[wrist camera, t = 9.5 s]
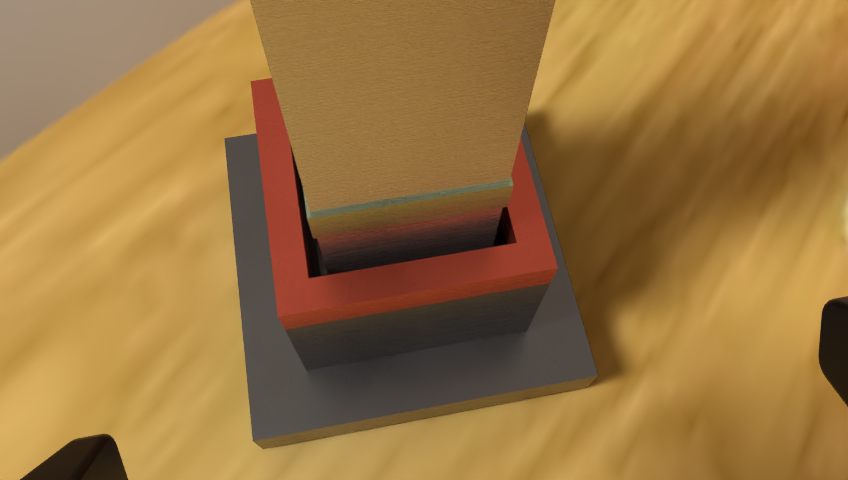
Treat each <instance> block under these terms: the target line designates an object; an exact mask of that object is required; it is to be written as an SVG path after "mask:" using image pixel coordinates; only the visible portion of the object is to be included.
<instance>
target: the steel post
mask: <svg viewBox="0 0 848 480" xmlns="http://www.w3.org/2000/svg"><path fill="white" fill-rule="evenodd" d="M250 2H251V5H252V9H253V13H254V16H255V20H256V23H257V27H258V30H259V34H260V37H261V41H262V44H263V48H264V51H265V55H266V59H267V62H268V66H269V69H270V73H271V76H272V80H273V83H274V87H275V90H276V94H277V98H278V101H279V105H280V108H281V112H282V115H283V119H284V122H285V126H286V129H287V133H288V137H289V140H290V144H291V147H292V151H293V154H294V158H295V161H296V165H297V168H298V172H299V175H300V179H301V183H302V186H303V192H304V200H305V207H306V214H307V220H308V223H309V227H310V230H311V233H312V237H313V239H315V238H317V239H318V243H319V246H320V250H321V253H322V257H323V261H324V264H325V268H326V271H327V275H331V274H337V273H343V272H349V271H355V270H361V269H367V268H373V267H378V266H384V265H390V264H396V263H402V262H408V261H414V260H420V259H426V258H431V257H437V256H443V255H449V254H455V253H461V252H467V251H473V250H479V249H484V248H490V247H493V244H494V240H495V236H496V232H497V228H498V224H499V220H500V216H501V212H502V209H503V207H508V205H509V201H510V197H511V193H512V190H513V186H514V185H513V181H512V177H511V173H512V169H513V165H514V161H515V157H516V154H517V150H518V146H519V142H520V138H521V134H522V130H523V126H524V122H525V118H526V114H527V110H528V106H529V102H530V99H531V95H532V91H533V87H534V83H535V79H536V75H537V71H538V67H539V63H540V59H541V55H542V51H543V47H544V44H545V40H546V36H547V32H548V28H549V24H550V20H551V16H552V12H553V8H554V4H555V0H250Z"/></svg>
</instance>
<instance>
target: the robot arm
mask: <svg viewBox="0 0 848 480" xmlns="http://www.w3.org/2000/svg"><path fill="white" fill-rule="evenodd" d="M819 364H820V367H821V370H822V372H823V374H824V375H825V377H826V378H827V380H828V381H829V382H830V384H831V385H832V386H833V388H834V389H835V390H836V392H837V393H838V394H839V396H840V397H841V398H842V400H843V401H844V402H845V404H846V405H847V406H848V296H847V297H841V298H836V299H832V300H829V301H828V302H827V303H826V304H825V306H824V308H823V311H822V319H821V331H820V343H819ZM20 480H128V478H127V475H126V472H125V469H124V466H123V463H122V459H121V456H120V453H119V450H118V447H117V445H116V442H115V441H114V439H113V438H112V437H111V436H110V435H108V434H99V435H94V436H88V437H83V438H78V439H75V440H72V441H71V442H69V443H68V444H67V445H65V446H64V447H63V448H61V449H60V450H59V451H57V452H56V453H55V454H53V455H52V456H51V457H49V458H48V459H47V460H45V461H44V462H43V463H41V464H40V465H39V466H37V467H36V468H35V469H33V470H32V471H31V472H30V473H28V474H27V475H26V476H24V477H23V478H22V479H20Z"/></svg>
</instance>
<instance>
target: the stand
mask: <svg viewBox="0 0 848 480" xmlns="http://www.w3.org/2000/svg"><path fill="white" fill-rule="evenodd" d="M251 88H252V96H253V105H254V114H255V122H256V131H257V134H250V135H244V136H237V137H230V138H225V148H226V159H227V170H228V180H229V191H230V202H231V212H232V223H233V233H234V244H235V255H236V265H237V276H238V287H239V297H240V308H241V319H242V329H243V340H244V351H245V361H246V372H247V382H248V393H249V404H250V414H251V425H252V436H253V441H254V442H255V443H256V444H257V445H258V446H260V447H261V448H262V449H266V448H271V447H277V446H282V445H287V444H292V443H298V442H303V441H308V440H313V439H319V438H324V437H329V436H335V435H340V434H345V433H350V432H356V431H361V430H366V429H371V428H377V427H382V426H387V425H392V424H398V423H403V422H408V421H413V420H419V419H424V418H429V417H434V416H440V415H445V414H450V413H455V412H461V411H466V410H471V409H476V408H482V407H487V406H492V405H498V404H503V403H508V402H513V401H519V400H524V399H529V398H534V397H540V396H545V395H550V394H555V393H561V392H566V391H571V390H576V389H582V388H587V387H588V386H589V385H590V384H591V383H592V382H593V381H594V380H595V379H596V378H597V377H598V374H597V370H596V367H595V363H594V360H593V356H592V353H591V350H590V346H589V343H588V339H587V336H586V332H585V329H584V325H583V322H582V319H581V315H580V312H579V308H578V305H577V301H576V298H575V294H574V291H573V288H572V284H571V281H570V277H569V274H568V270H567V267H566V264H565V260H564V257H563V253H562V250H561V246H560V243H559V239H558V236H557V233H556V229H555V226H554V222H553V219H552V215H551V212H550V208H549V205H548V202H547V198H546V195H545V191H544V188H543V184H542V181H541V177H540V174H539V171H538V167H537V164H536V160H535V157H534V153H533V150H532V147H531V143H530V140H529V136H528V133H527V129H526V126H525V122H524V126H523V130H522V134H521V138H520V142H519V146H518V150H517V154H516V157H515V161H514V165H513V169H512V173H511V177H512V181H513V185H514V186H513V190H512V193H511V197H510V201H509V205H508V207H503V209H502V212H501V216H500V220H499V224H498V228H497V232H496V236H495V240H494V244H493V247H490V248H484V249H479V250H473V251H467V252H461V253H455V254H449V255H443V256H437V257H431V258H426V259H420V260H414V261H408V262H402V263H396V264H390V265H384V266H378V267H373V268H367V269H361V270H355V271H349V272H343V273H337V274H331V275H327V271H326V268H325V264H324V261H323V257H322V253H321V250H320V246H319V243H318V239H317V238H315V239H313V237H312V233H311V230H310V227H309V223H308V220H307V214H306V207H305V200H304V192H303V186H302V183H301V179H300V175H299V172H298V168H297V165H296V161H295V158H294V154H293V151H292V147H291V144H290V140H289V137H288V133H287V129H286V126H285V122H284V119H283V115H282V112H281V108H280V105H279V101H278V98H277V94H276V90H275V87H274V83H273V80H272V78H270V79H263V80H256V81H251Z"/></svg>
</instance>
